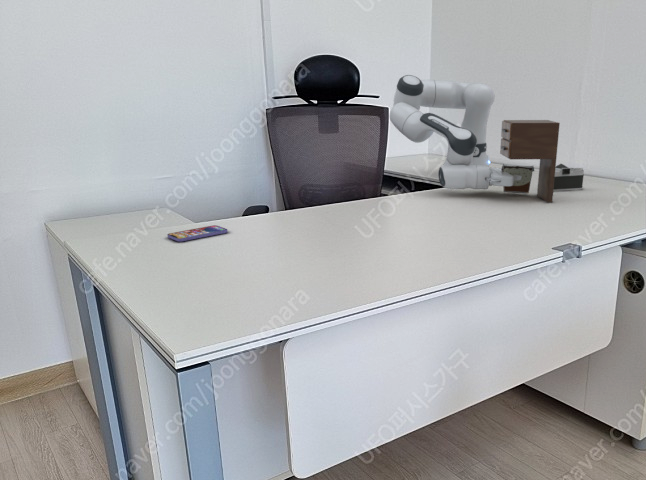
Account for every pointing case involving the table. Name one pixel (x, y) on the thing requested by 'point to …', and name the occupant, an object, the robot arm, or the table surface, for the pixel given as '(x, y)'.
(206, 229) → the smartphone
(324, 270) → the table surface
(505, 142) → the drawer unit
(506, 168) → the food container
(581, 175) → the camera
